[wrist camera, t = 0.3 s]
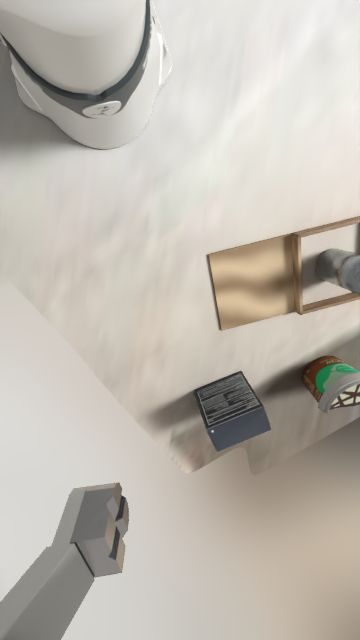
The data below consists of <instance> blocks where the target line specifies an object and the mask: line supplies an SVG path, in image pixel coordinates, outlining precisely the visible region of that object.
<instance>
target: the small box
mask: <svg viewBox="0 0 360 640" xmlns="http://www.w3.org/2000/svg"><path fill="white" fill-rule="evenodd" d="M194 394H195V396H196V399H197V402H198V406H199V409H200V412H201V415H202V418H203V421H204V424H205V427H206V431H207V433H208V435H209V437H210V439H211V441H212V443H213V445H214V447H215V450H216V451H217V452H218V451H221V450H223V449H225V448H228V447H230V446H232V445H235V444H237V443H240V442H242V441H245V440H247V439H249V438H252V437H254V436H257V435H259V434H262V433H264V432H266V431H269V430H271V427H270V423H269V420H268V417H267V414H266V411H265V408H264V406H263V404H262V403H261V402H260V400H259V399H258V397H257V395H256V394H255V392H254V391H253V389H252V387H251V386H250V384H249V383H248V381H247V380H246V378H245V376H244V375H243V372H242V371H240V372H237V373H235V374H232V375H230V376H228V377H225V378H223V379H220V380H218V381H215V382H213V383H211V384H208V385H206V386H203V387H201V388H198V389H196V390H194Z"/></svg>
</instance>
